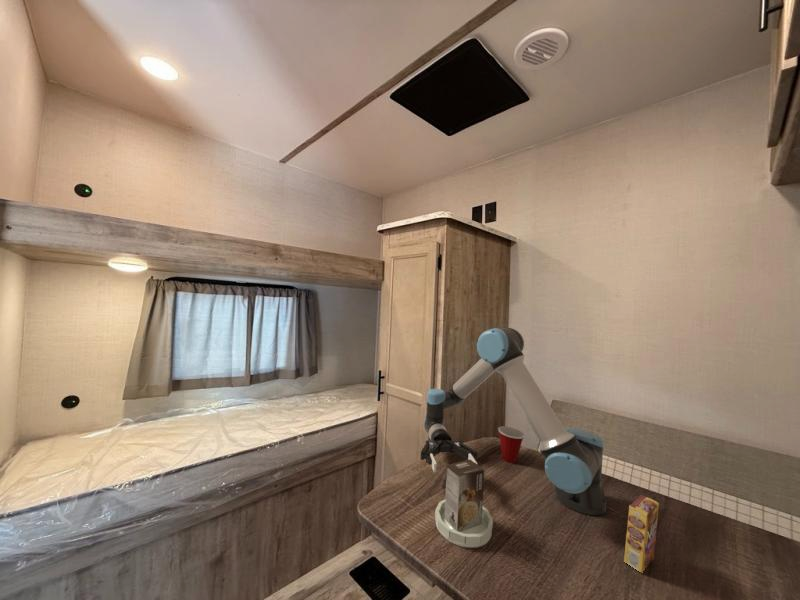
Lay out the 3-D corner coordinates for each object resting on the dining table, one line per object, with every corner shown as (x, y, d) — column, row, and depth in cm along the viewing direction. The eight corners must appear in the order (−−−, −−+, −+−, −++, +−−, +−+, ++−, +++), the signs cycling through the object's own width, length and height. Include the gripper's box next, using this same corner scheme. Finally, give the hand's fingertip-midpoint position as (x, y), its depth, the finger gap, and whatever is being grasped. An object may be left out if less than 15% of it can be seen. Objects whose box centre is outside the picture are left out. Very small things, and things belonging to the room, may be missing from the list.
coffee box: (467, 510, 93) (470, 458, 93) (482, 524, 87) (485, 469, 87) (443, 518, 89) (446, 464, 89) (456, 534, 83) (460, 476, 83)
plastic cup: (527, 467, 122) (529, 437, 122) (500, 465, 122) (502, 435, 122) (517, 453, 133) (519, 426, 133) (493, 451, 133) (494, 424, 133)
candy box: (643, 576, 75) (647, 514, 74) (623, 563, 78) (626, 504, 78) (656, 560, 80) (659, 502, 80) (636, 548, 83) (639, 493, 83)
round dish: (479, 505, 97) (479, 496, 97) (501, 546, 81) (502, 535, 81) (430, 506, 95) (431, 497, 95) (443, 548, 79) (443, 537, 79)
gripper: (470, 447, 120) (492, 479, 99) (408, 447, 118) (417, 480, 96) (471, 428, 120) (493, 456, 99) (409, 428, 118) (418, 456, 96)
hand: (455, 468), depth 98 cm, fingers open, 13 cm apart
